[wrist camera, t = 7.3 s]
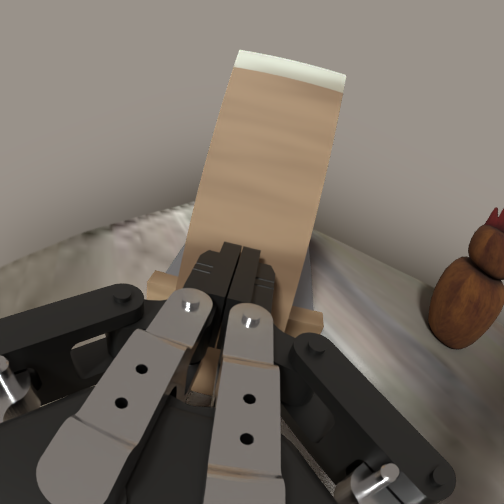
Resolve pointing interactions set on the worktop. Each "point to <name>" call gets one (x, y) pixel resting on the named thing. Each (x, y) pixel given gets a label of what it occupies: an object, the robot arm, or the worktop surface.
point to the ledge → (297, 322)
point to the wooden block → (265, 174)
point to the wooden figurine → (471, 288)
